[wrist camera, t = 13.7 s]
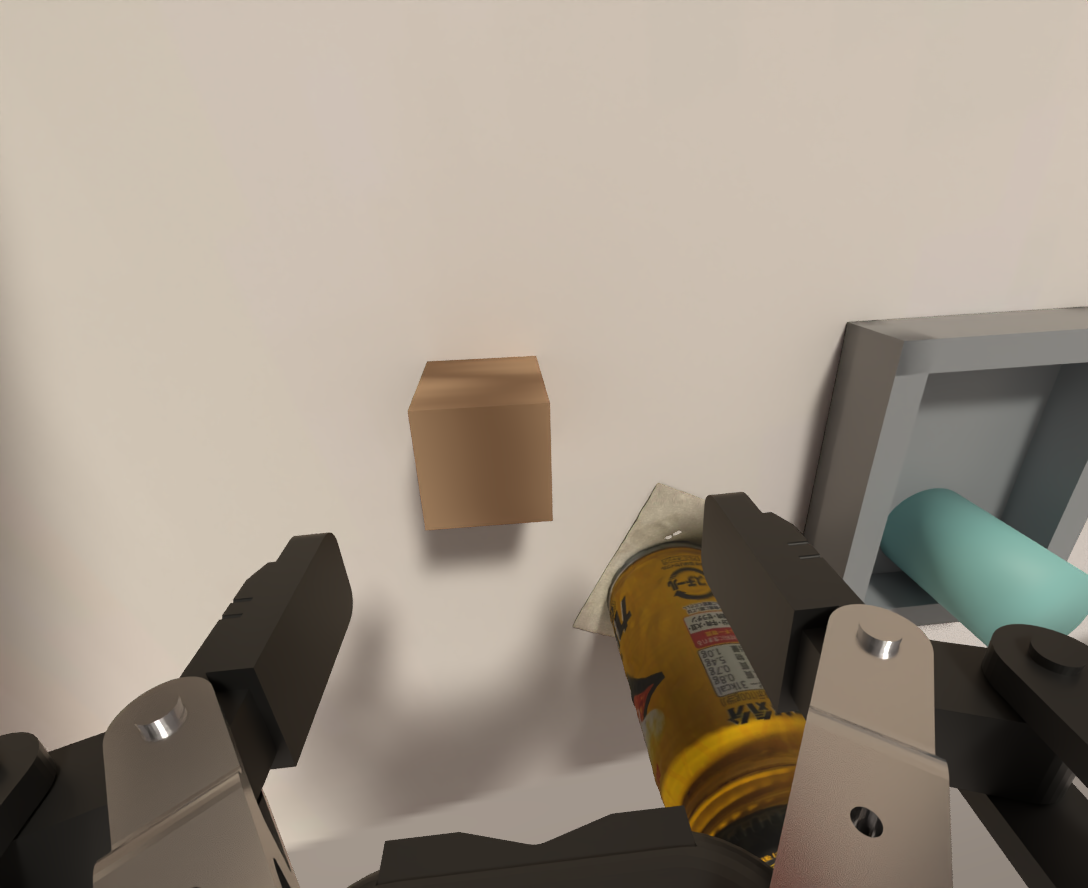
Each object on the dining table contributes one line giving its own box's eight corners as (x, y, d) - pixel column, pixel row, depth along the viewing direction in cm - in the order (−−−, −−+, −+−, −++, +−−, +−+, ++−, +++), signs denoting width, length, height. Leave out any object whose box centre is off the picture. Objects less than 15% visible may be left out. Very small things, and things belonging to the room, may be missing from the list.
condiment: (572, 623, 25) (633, 944, 14) (656, 480, 22) (816, 748, 11) (697, 659, 27) (837, 966, 16) (792, 531, 24) (1040, 803, 13)
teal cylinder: (870, 566, 24) (968, 661, 19) (891, 492, 22) (1004, 575, 17) (951, 558, 24) (1069, 649, 19) (977, 484, 23) (1114, 563, 18)
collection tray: (792, 589, 25) (828, 635, 23) (847, 321, 20) (904, 341, 17) (984, 570, 26) (1042, 612, 23) (1090, 306, 20) (1181, 322, 18)
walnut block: (439, 458, 21) (425, 530, 16) (427, 361, 19) (407, 411, 14) (539, 451, 21) (552, 520, 16) (535, 355, 19) (549, 403, 15)
